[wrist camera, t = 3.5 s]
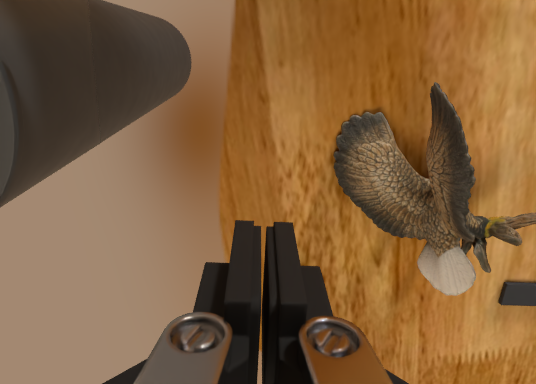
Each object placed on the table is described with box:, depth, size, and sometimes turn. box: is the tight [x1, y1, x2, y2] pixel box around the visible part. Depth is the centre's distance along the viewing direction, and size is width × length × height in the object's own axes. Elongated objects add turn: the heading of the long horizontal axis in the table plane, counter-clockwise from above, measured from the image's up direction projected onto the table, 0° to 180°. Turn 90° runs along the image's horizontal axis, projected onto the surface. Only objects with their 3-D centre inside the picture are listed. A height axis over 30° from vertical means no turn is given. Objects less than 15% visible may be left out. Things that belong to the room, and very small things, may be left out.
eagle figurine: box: [334, 82, 536, 295], centre depth 19 cm, size 8×7×9 cm
